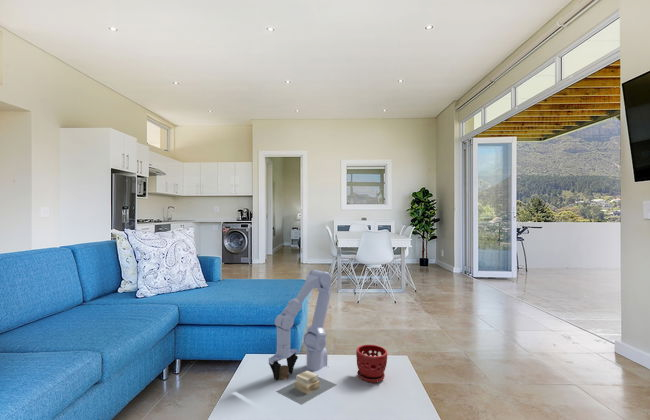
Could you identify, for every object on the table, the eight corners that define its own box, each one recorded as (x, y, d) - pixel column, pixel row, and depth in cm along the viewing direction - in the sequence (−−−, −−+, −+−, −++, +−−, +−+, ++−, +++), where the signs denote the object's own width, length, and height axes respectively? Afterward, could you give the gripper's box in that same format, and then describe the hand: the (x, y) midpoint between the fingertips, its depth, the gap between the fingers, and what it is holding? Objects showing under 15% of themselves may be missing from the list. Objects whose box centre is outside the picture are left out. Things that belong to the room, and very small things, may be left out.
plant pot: (352, 382, 140) (352, 352, 141) (361, 369, 153) (361, 342, 153) (383, 388, 136) (383, 357, 136) (390, 374, 148) (390, 346, 148)
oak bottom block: (306, 382, 138) (307, 375, 138) (319, 387, 134) (319, 381, 134) (294, 388, 133) (294, 381, 133) (307, 394, 128) (307, 387, 128)
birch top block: (307, 376, 138) (307, 370, 138) (317, 381, 134) (317, 374, 134) (296, 381, 133) (296, 375, 133) (307, 386, 129) (307, 380, 129)
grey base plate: (311, 376, 145) (311, 374, 145) (336, 387, 136) (336, 384, 136) (275, 394, 130) (275, 391, 130) (301, 407, 121) (301, 404, 121)
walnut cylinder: (283, 376, 146) (283, 364, 146) (290, 379, 143) (290, 367, 143) (275, 379, 142) (275, 367, 142) (282, 383, 139) (282, 370, 140)
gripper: (289, 336, 151) (289, 367, 151) (264, 345, 140) (263, 378, 140) (301, 340, 146) (300, 372, 146) (275, 350, 135) (274, 384, 135)
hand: (283, 376), depth 142 cm, fingers open, 7 cm apart
